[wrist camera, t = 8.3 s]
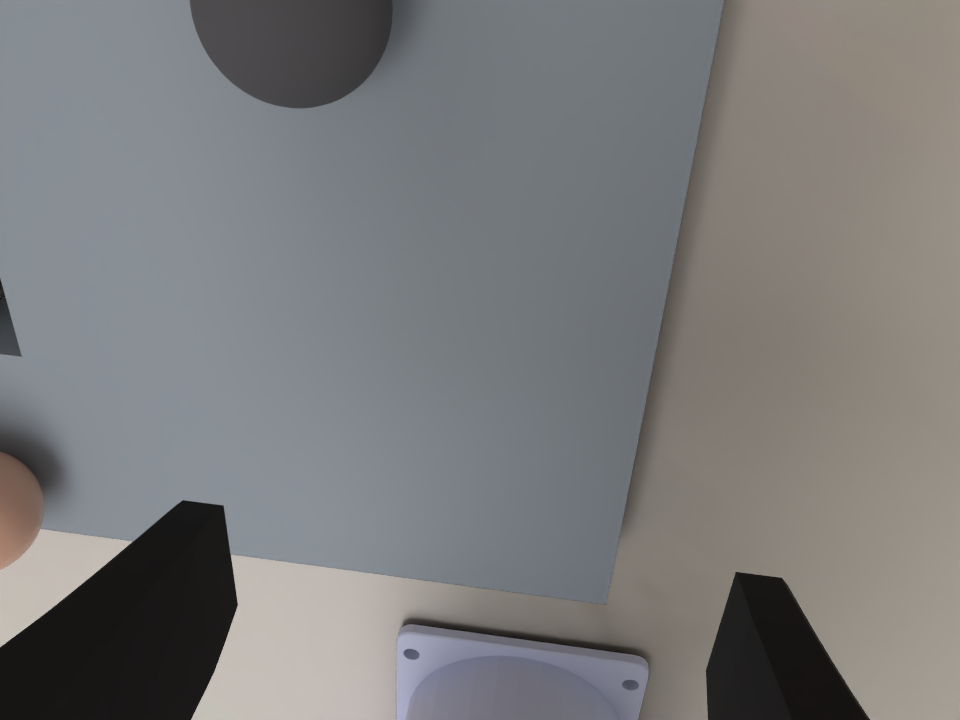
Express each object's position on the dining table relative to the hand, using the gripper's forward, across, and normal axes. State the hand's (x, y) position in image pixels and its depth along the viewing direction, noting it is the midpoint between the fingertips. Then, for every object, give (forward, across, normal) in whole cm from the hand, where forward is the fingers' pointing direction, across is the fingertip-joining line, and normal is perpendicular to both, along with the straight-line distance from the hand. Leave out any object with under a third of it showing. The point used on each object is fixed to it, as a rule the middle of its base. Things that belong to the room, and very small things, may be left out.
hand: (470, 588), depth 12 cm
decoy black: (+6, +4, -6) cm, 10 cm away
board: (+10, +8, 0) cm, 13 cm away
